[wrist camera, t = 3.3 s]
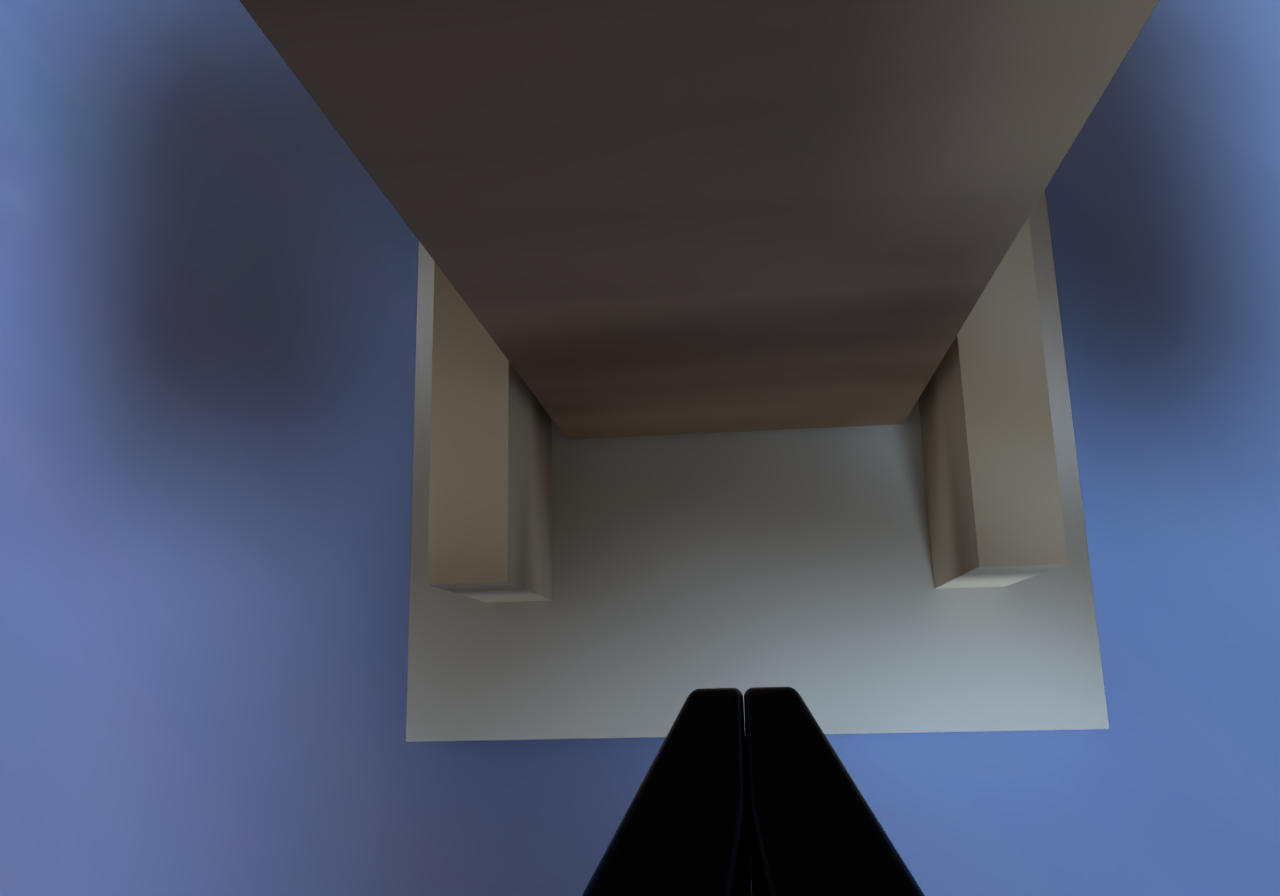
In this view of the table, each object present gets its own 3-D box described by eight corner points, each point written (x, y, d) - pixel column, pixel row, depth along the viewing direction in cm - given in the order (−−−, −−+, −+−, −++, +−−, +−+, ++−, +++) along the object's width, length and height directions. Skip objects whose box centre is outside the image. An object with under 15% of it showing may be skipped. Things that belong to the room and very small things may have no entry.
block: (902, 424, 15) (1264, -172, 5) (568, 439, 16) (188, -70, 5) (873, 60, 17) (1099, -1056, 6) (564, 84, 17) (259, -910, 6)
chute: (1086, 725, 15) (1200, 741, 11) (426, 738, 16) (325, 756, 12) (972, -275, 19) (1028, -515, 15) (447, -219, 20) (376, -432, 16)
